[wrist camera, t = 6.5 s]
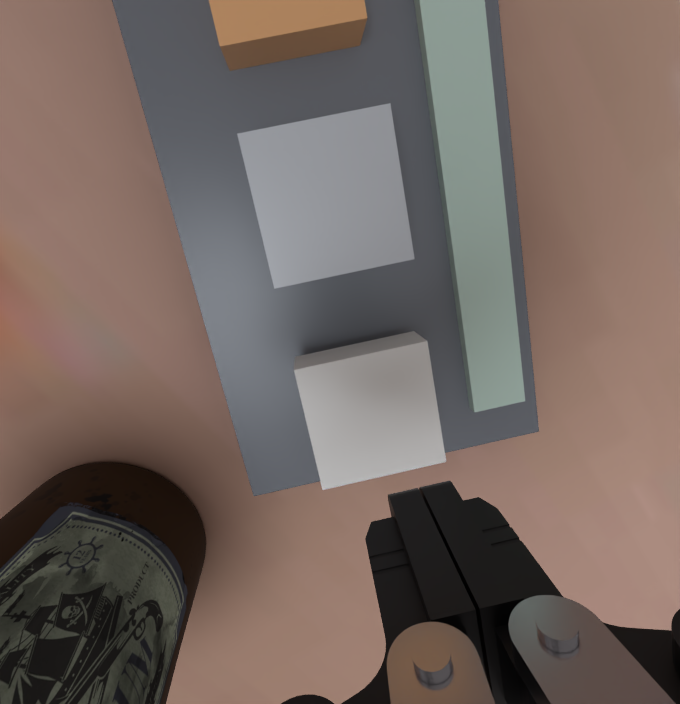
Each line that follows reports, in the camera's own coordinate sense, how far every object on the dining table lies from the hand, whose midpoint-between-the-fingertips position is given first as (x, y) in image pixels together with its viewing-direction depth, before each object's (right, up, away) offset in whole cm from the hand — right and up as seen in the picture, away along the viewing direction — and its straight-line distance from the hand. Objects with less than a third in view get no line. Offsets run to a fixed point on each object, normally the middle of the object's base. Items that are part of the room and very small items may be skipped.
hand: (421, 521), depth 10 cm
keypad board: (-2, +11, +9) cm, 14 cm away
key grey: (-2, +10, +6) cm, 12 cm away
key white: (-1, +2, +8) cm, 8 cm away
